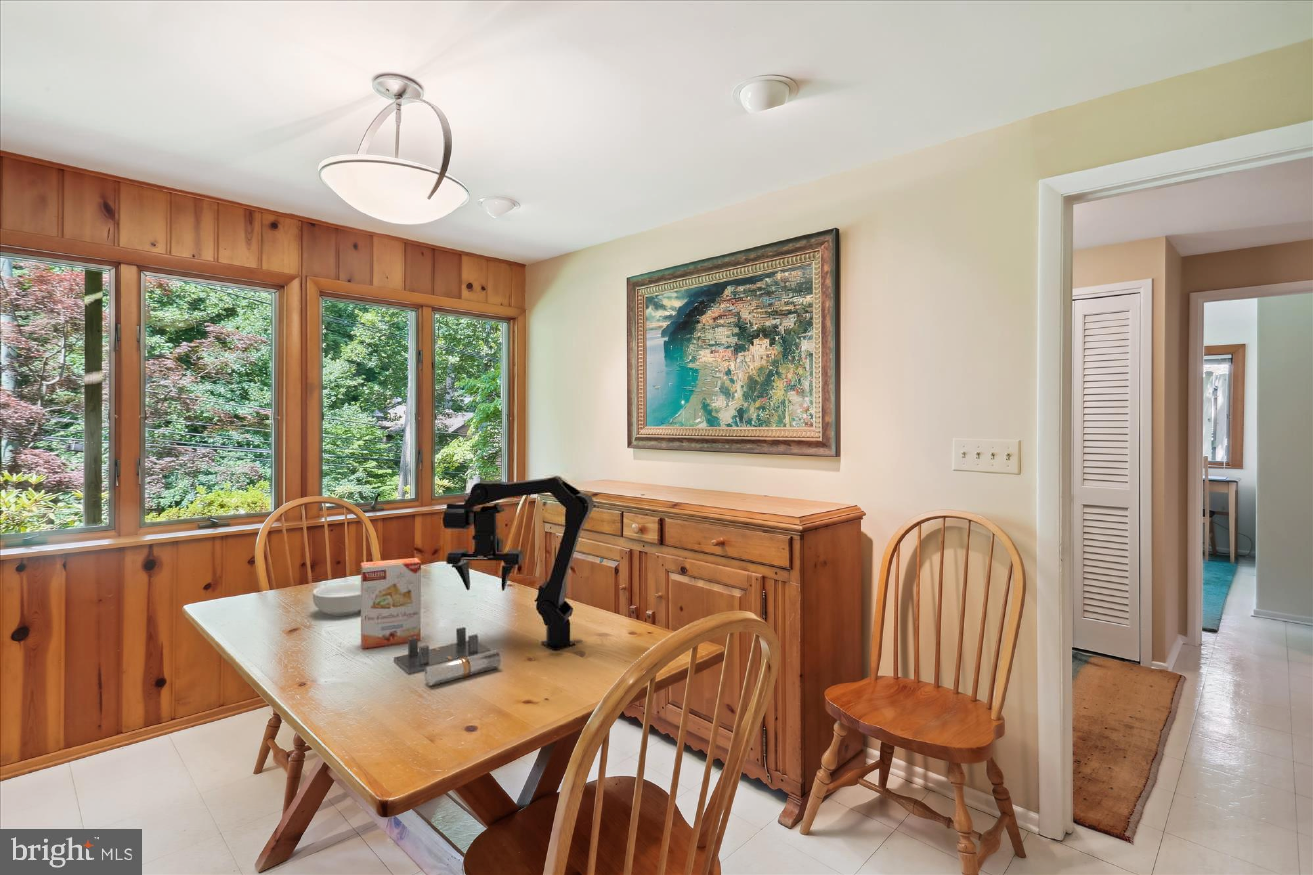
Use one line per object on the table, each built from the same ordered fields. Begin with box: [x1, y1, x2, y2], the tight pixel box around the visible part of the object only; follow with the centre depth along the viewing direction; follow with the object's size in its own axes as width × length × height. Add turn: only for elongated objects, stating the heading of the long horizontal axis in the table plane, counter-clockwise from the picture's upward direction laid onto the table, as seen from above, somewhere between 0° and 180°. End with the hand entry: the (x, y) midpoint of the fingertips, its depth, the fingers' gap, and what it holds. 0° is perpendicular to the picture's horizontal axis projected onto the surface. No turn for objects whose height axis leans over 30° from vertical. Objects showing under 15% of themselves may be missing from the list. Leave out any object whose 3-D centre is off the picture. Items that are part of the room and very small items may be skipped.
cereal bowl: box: [312, 581, 361, 617], centre depth 190 cm, size 17×17×7 cm
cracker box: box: [360, 557, 422, 650], centre depth 165 cm, size 14×6×21 cm, turn 118°
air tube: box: [423, 649, 501, 687], centre depth 143 cm, size 16×4×4 cm, turn 130°
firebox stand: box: [393, 626, 492, 675], centre depth 155 cm, size 10×20×5 cm, turn 130°
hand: (485, 590), depth 166 cm, fingers open, 9 cm apart
